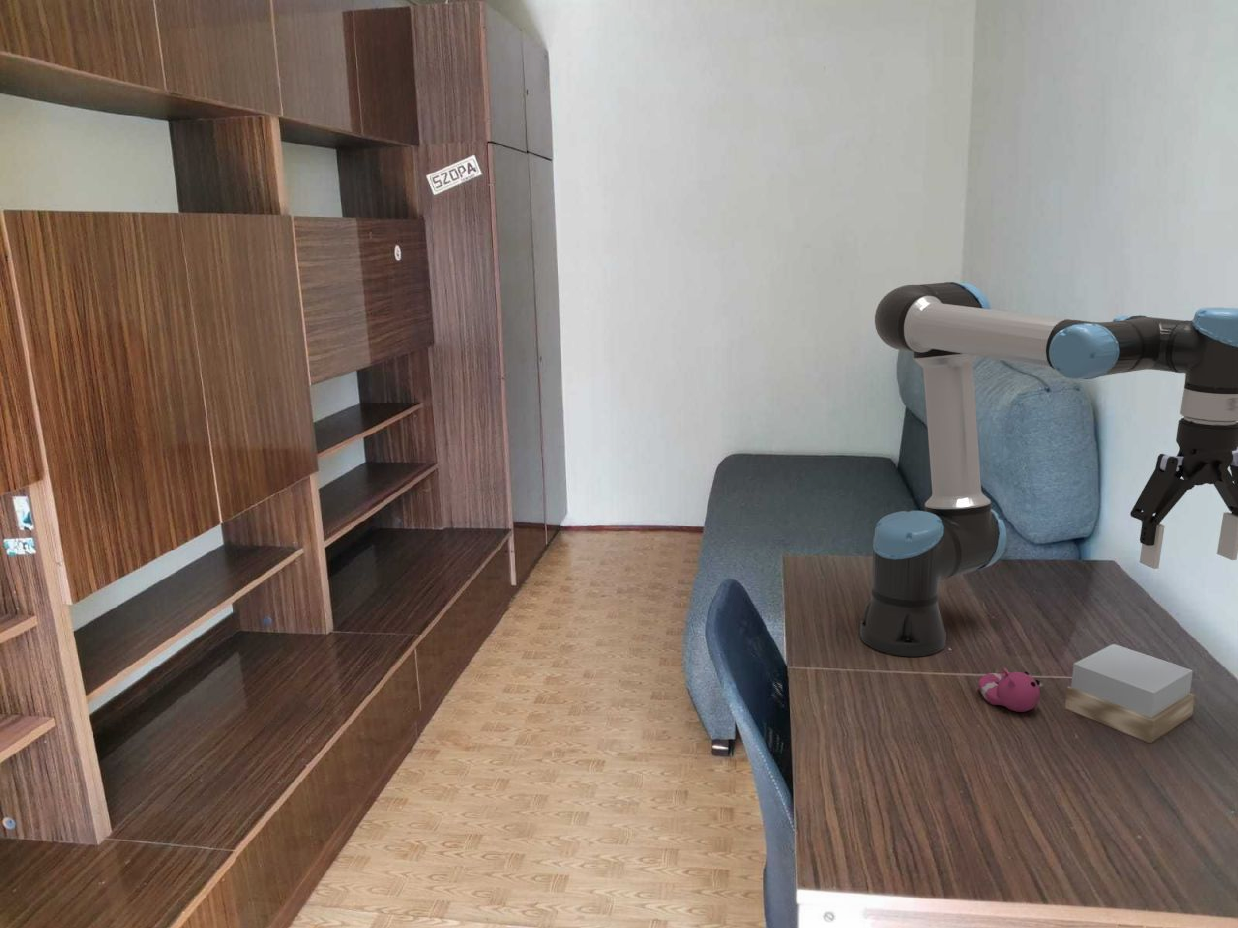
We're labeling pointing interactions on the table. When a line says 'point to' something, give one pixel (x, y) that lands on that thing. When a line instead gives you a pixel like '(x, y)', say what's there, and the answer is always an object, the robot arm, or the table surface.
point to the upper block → (1132, 680)
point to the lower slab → (1129, 715)
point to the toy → (1011, 690)
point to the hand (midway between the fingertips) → (1188, 561)
